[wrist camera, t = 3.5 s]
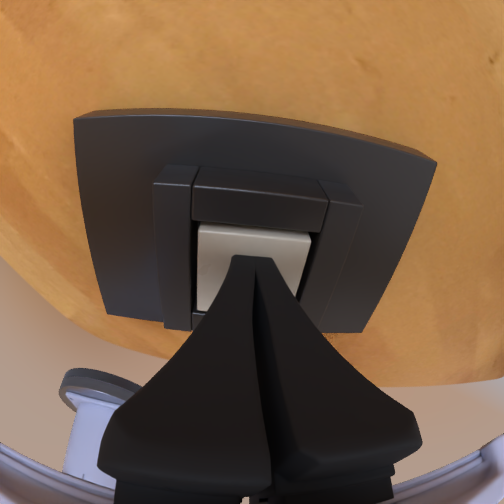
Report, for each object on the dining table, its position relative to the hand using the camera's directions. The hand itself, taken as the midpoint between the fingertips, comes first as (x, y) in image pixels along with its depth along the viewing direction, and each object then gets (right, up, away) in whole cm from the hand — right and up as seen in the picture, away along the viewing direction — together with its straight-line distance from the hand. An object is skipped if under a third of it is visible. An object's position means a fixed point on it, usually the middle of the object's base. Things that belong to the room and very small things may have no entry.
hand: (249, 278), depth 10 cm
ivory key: (0, +1, +1) cm, 2 cm away
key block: (0, +2, +3) cm, 3 cm away
